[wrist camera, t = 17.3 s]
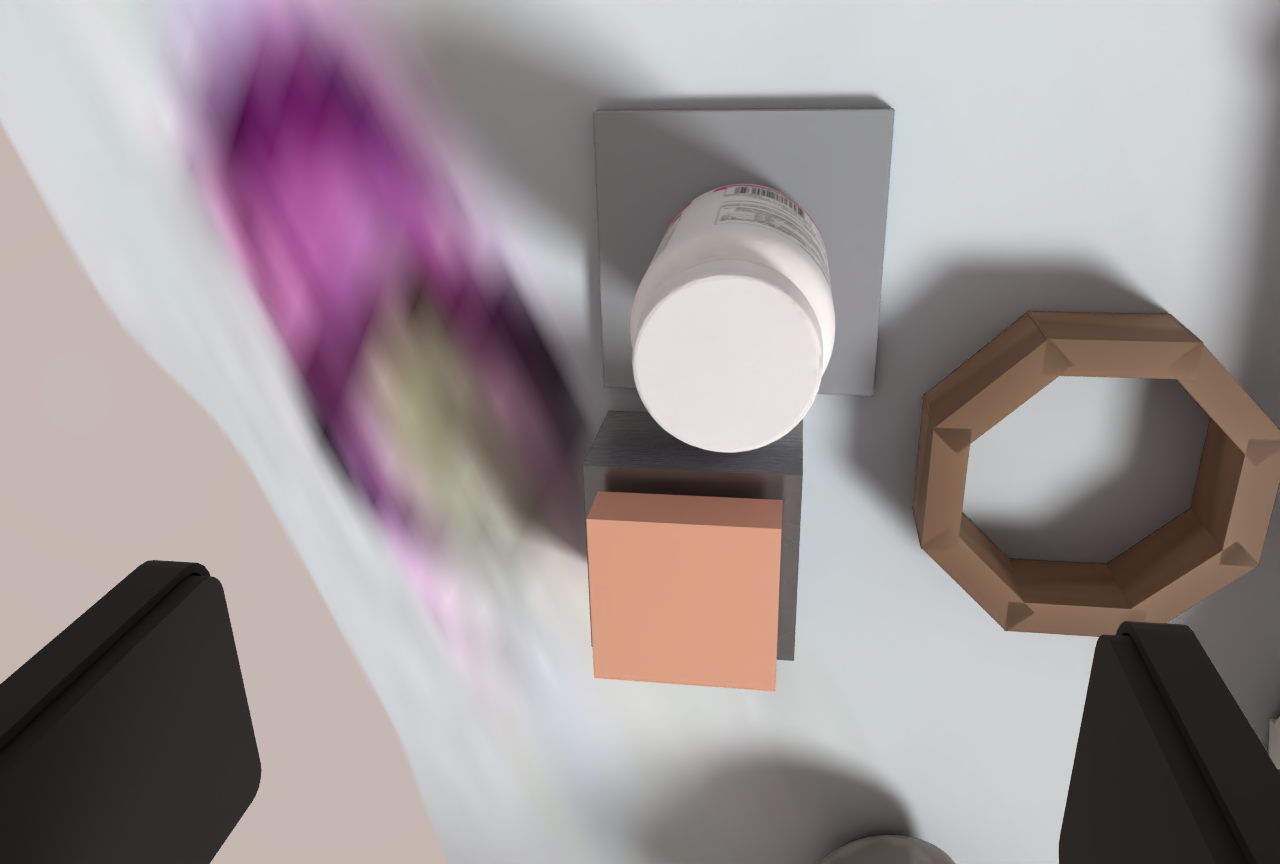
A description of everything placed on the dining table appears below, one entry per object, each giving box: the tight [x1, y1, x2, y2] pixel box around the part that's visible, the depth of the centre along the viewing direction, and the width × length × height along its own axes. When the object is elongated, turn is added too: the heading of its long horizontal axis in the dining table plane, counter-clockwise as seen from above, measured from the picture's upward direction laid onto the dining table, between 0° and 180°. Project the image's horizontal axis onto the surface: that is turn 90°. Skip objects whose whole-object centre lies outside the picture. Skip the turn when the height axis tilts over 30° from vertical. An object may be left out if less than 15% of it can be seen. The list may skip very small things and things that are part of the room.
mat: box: [594, 108, 895, 396], centre depth 29 cm, size 8×8×1 cm
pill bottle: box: [630, 184, 835, 452], centre depth 25 cm, size 5×5×8 cm
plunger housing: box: [583, 411, 803, 661], centre depth 30 cm, size 6×6×4 cm
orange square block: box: [586, 491, 783, 691], centre depth 29 cm, size 5×5×5 cm
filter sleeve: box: [912, 311, 1280, 637], centre depth 29 cm, size 9×9×2 cm
